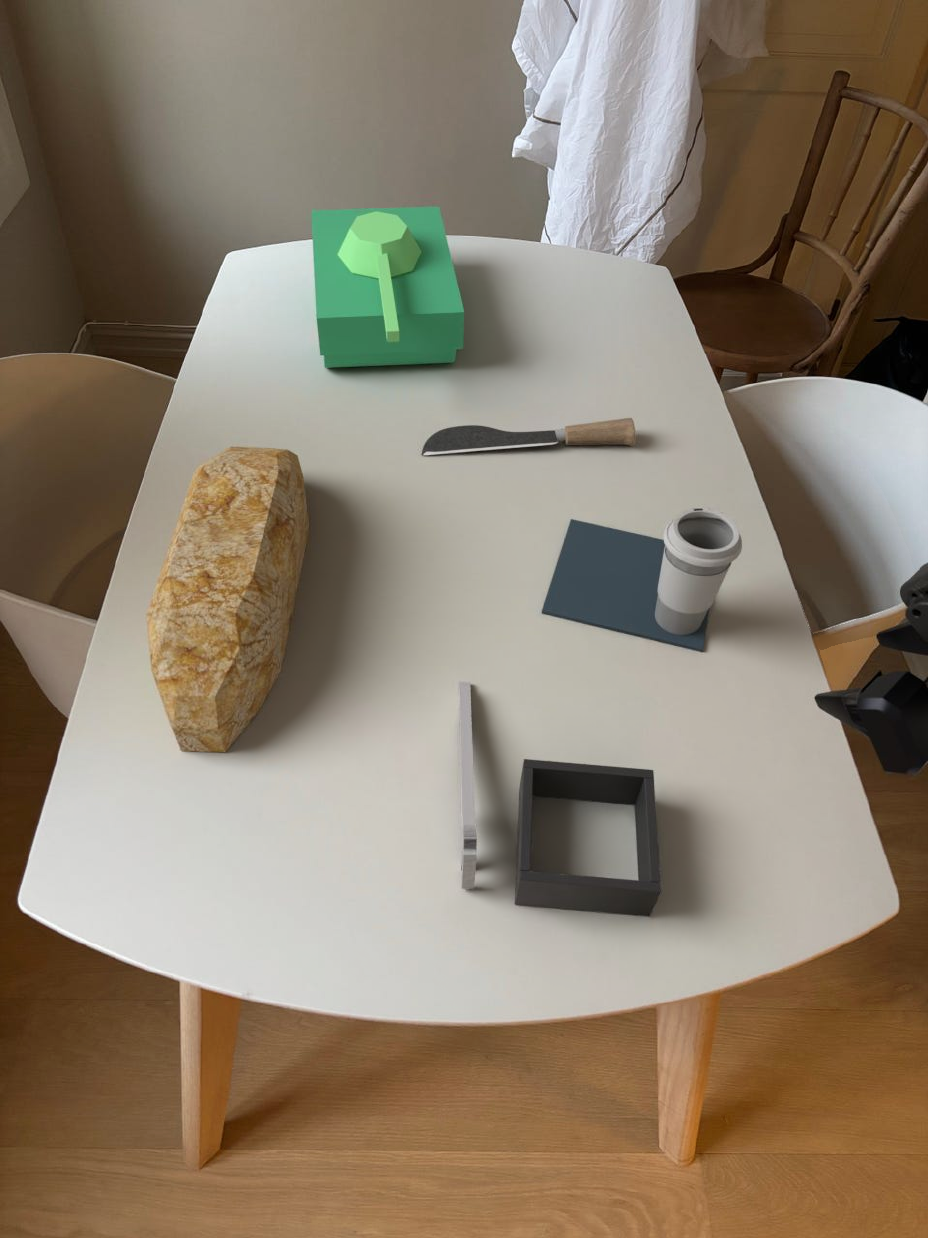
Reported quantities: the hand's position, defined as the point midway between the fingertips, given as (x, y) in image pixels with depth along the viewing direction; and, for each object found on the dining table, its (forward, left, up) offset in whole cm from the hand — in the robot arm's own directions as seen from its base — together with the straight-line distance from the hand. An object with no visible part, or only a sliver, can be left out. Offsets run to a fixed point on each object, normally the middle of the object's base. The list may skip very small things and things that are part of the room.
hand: (848, 669), depth 74 cm
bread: (+55, -2, -13) cm, 56 cm away
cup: (+13, -13, -12) cm, 22 cm away
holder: (+17, +15, -13) cm, 26 cm away
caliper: (+28, +11, -13) cm, 32 cm away
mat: (+18, -16, -13) cm, 27 cm away
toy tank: (+57, -51, -13) cm, 78 cm away
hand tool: (+34, -35, -13) cm, 50 cm away
